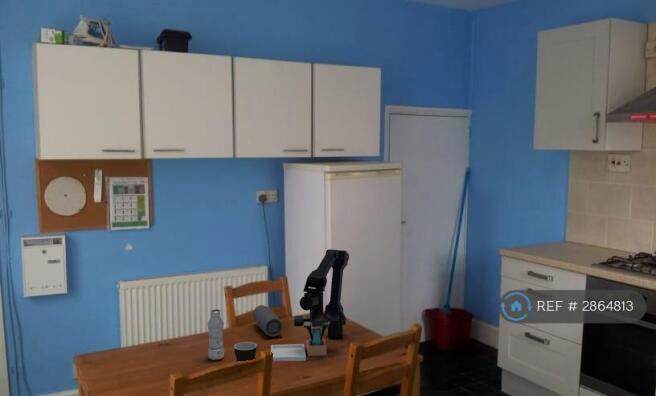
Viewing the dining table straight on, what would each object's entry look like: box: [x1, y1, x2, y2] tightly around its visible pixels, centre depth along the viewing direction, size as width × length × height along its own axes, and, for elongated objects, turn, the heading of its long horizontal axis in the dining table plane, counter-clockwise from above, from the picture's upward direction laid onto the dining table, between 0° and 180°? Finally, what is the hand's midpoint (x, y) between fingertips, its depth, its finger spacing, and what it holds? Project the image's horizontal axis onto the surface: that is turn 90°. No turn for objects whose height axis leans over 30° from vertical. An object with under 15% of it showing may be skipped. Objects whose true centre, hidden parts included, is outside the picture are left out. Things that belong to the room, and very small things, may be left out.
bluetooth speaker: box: [252, 304, 284, 337], centre depth 253 cm, size 23×9×10 cm, turn 21°
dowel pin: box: [311, 327, 321, 346], centre depth 227 cm, size 3×3×10 cm
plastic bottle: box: [207, 308, 225, 361], centre depth 219 cm, size 6×7×20 cm
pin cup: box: [306, 338, 327, 357], centre depth 227 cm, size 8×8×4 cm
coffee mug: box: [233, 341, 258, 363], centre depth 209 cm, size 12×9×10 cm
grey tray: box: [270, 343, 307, 363], centre depth 224 cm, size 14×14×2 cm
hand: (316, 340), depth 227 cm, fingers closed on dowel pin, 3 cm apart
